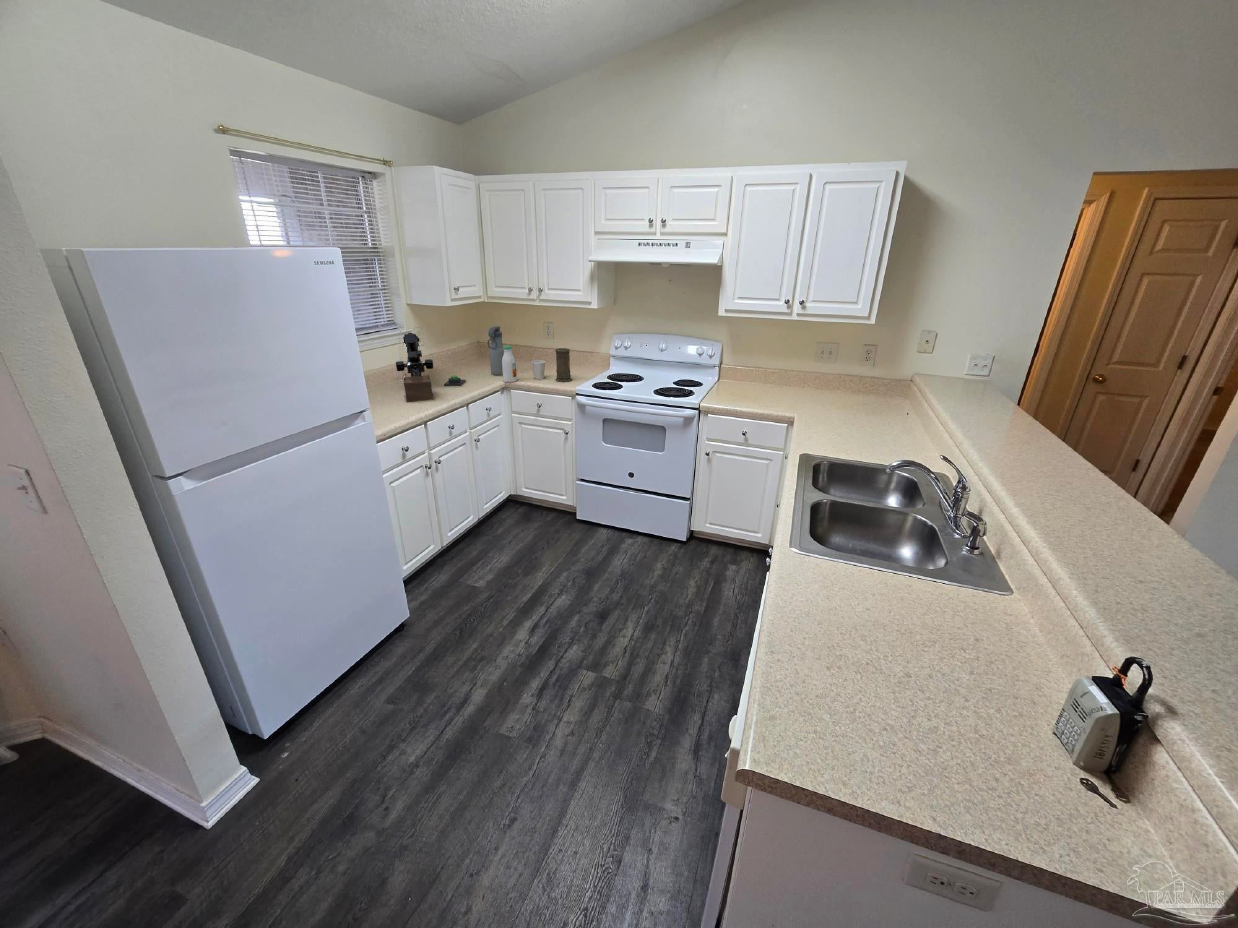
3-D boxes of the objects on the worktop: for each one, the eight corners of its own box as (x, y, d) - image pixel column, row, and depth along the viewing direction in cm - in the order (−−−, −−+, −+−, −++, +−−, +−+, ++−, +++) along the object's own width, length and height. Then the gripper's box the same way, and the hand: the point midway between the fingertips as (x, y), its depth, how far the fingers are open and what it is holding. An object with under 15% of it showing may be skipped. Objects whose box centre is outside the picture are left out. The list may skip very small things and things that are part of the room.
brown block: (406, 395, 266) (403, 377, 263) (431, 393, 271) (429, 375, 267) (406, 402, 255) (403, 383, 251) (433, 399, 259) (430, 381, 255)
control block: (449, 381, 295) (449, 376, 293) (465, 381, 295) (464, 376, 294) (444, 386, 284) (443, 380, 283) (460, 386, 285) (459, 381, 283)
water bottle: (501, 376, 307) (497, 328, 296) (487, 374, 310) (483, 327, 299) (510, 372, 316) (507, 326, 305) (497, 371, 319) (493, 325, 308)
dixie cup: (549, 378, 304) (548, 361, 300) (538, 380, 298) (537, 363, 294) (539, 375, 309) (539, 359, 305) (529, 378, 303) (528, 361, 299)
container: (559, 382, 293) (558, 351, 286) (553, 379, 300) (552, 348, 293) (573, 381, 297) (572, 350, 290) (568, 377, 304) (566, 347, 297)
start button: (452, 378, 290) (451, 375, 290) (458, 378, 290) (458, 375, 290) (450, 380, 287) (450, 377, 286) (456, 380, 287) (456, 377, 286)
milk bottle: (509, 383, 291) (506, 348, 284) (500, 381, 296) (497, 346, 288) (519, 380, 297) (517, 346, 289) (510, 378, 301) (508, 344, 294)
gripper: (392, 346, 268) (396, 371, 263) (430, 344, 274) (434, 368, 269) (395, 358, 277) (398, 383, 272) (431, 356, 284) (435, 380, 279)
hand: (416, 378), depth 273 cm, fingers closed, pressing on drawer
